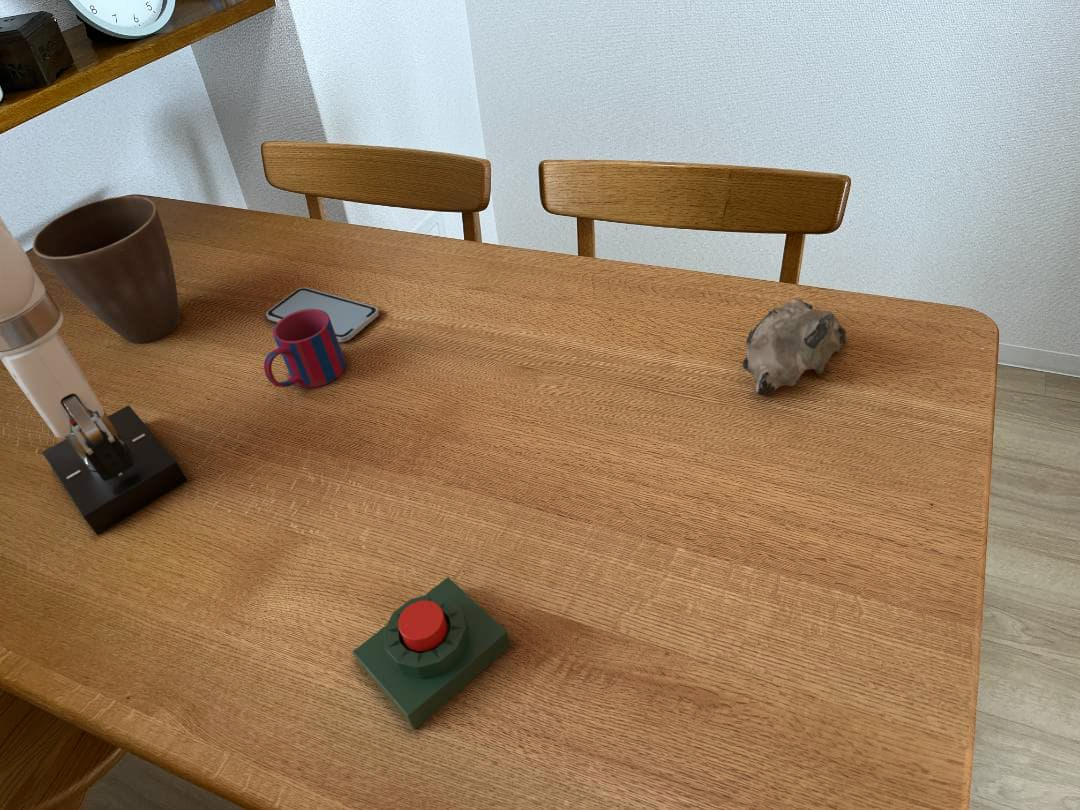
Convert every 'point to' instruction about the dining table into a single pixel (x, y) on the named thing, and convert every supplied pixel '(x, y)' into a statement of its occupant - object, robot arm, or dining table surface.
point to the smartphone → (327, 311)
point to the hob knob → (77, 444)
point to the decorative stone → (791, 345)
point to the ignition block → (433, 655)
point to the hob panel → (125, 490)
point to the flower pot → (115, 265)
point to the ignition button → (422, 626)
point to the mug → (306, 349)
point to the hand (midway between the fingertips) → (103, 451)
